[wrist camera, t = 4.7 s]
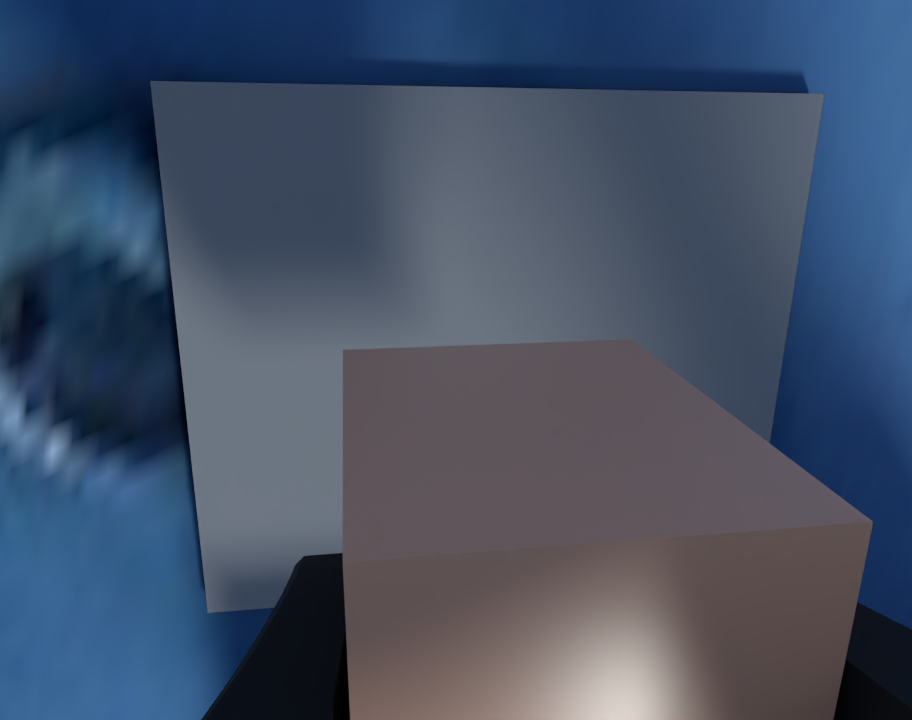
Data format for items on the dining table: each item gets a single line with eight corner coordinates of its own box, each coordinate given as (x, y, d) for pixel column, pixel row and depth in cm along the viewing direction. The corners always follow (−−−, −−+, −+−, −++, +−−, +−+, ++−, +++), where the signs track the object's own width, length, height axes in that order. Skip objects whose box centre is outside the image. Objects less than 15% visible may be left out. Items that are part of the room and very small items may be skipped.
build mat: (810, 94, 17) (824, 94, 16) (740, 559, 20) (750, 569, 20) (156, 82, 15) (150, 80, 14) (211, 600, 18) (208, 612, 18)
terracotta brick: (631, 338, 10) (873, 521, 6) (603, 688, 12) (767, 1046, 7) (342, 349, 10) (342, 562, 5) (358, 714, 12) (369, 1118, 7)
